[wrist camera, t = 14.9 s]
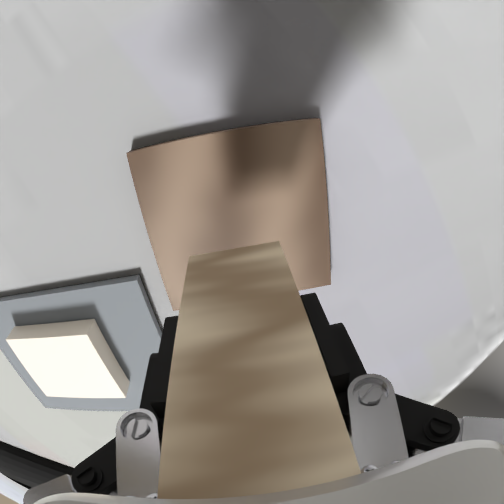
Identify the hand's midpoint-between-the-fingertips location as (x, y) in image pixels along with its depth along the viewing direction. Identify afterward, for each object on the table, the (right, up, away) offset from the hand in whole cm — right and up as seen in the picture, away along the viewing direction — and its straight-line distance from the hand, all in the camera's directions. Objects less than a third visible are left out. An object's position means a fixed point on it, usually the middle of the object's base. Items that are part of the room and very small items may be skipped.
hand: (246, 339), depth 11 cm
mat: (-17, -7, +15) cm, 24 cm away
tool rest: (-1, +5, +10) cm, 11 cm away
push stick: (0, +2, +3) cm, 4 cm away
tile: (-17, -7, +13) cm, 22 cm away
